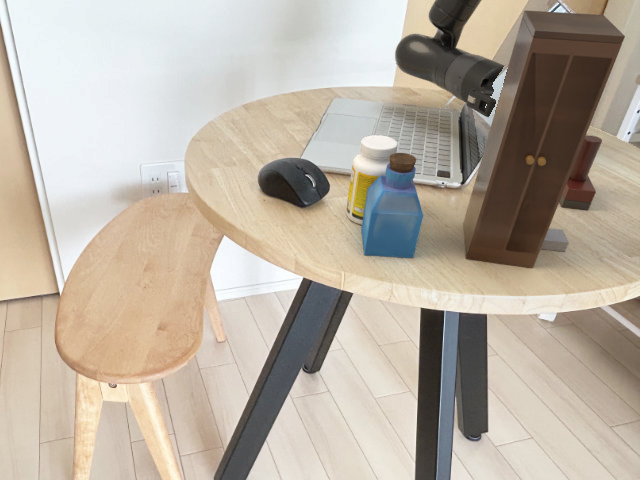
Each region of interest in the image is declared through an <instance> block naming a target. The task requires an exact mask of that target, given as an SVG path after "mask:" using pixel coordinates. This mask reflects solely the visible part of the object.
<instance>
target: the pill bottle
mask: <svg viewBox="0 0 640 480" xmlns="http://www.w3.org/2000/svg"><path fill="white" fill-rule="evenodd" d="M398 146H399V144H398V141H397V140H396V139H394V138H392V137H390V136H386V135H381V134H380V135H379V134H374V135H373V134H372V135H368V136H365V137H363V138H362V139H361V141H360V146H359V153H358V154H357V155H355V157H354V158H353V160H352V164H351V170H350V171H351V172H350V178H349V179H350V180H349V186H348V195H347V202H346V210H345V211H346V216H347V217H348V218H349V220H350V221H352V222H353V223H355V224H357V225H359V226H362V222H363V215H364V209H365V203H366V196H367V190H368V188H369V187H370V186H371V185H372V184H373V183H374V182H375V181H376V179H377V178H378V177H379V176H386V175H385V173H386V167H387V165H388V164H389V163H390V159H389V157H390V155H391V154H394V153H398V148H399V147H398Z"/></svg>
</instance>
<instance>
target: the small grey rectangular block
mask: <svg viewBox="0 0 640 480" xmlns="http://www.w3.org/2000/svg"><path fill="white" fill-rule="evenodd" d="M569 244H570V241H569V239H568V238H567V236H566V234H565V231H564V229H560V228H559V229H558V228H550V227H549V229H548V232H547V234H546V237H545V239H544V242H543V244H542V247H541V249H540V250H548V251H558V252H566V250H567V248H568V246H569Z"/></svg>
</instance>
